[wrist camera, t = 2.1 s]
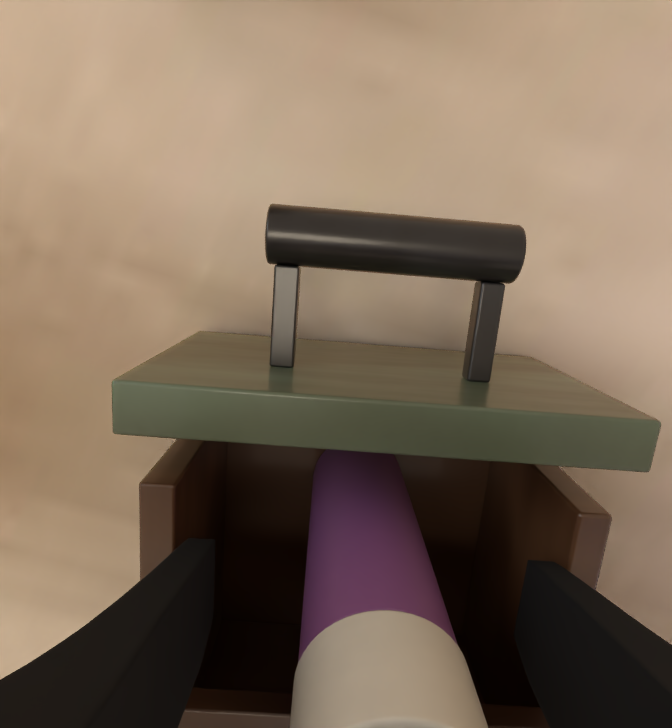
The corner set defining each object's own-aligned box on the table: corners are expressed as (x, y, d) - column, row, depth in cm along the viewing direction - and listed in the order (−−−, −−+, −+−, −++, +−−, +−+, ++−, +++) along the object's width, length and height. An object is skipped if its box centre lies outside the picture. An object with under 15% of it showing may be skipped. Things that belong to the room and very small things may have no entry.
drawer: (200, 210, 15) (104, 176, 9) (553, 240, 15) (711, 228, 9) (193, 615, 18) (120, 807, 12) (483, 633, 19) (563, 829, 12)
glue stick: (416, 497, 16) (542, 850, 7) (335, 532, 17) (342, 920, 7) (379, 420, 16) (458, 686, 6) (296, 458, 16) (242, 772, 6)
